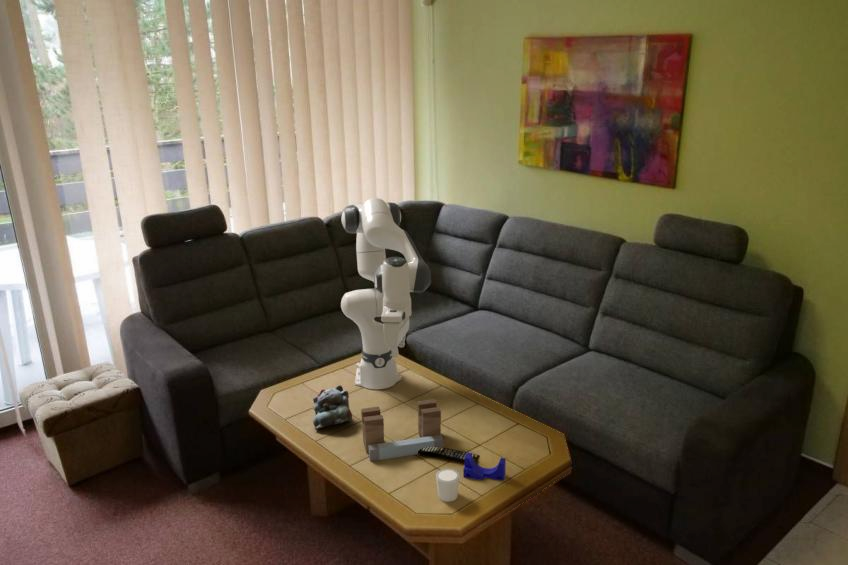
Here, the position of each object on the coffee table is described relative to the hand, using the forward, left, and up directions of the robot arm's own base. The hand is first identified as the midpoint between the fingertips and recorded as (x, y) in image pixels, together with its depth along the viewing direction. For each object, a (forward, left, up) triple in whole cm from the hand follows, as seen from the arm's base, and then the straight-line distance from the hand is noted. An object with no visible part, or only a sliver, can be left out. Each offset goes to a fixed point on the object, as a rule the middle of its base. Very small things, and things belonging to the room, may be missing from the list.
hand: (398, 351), depth 207 cm
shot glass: (+32, +7, -33) cm, 46 cm away
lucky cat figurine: (-19, -21, -33) cm, 44 cm away
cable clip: (+25, +20, -33) cm, 47 cm away
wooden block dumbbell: (0, 0, -33) cm, 33 cm away
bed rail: (+7, 0, -33) cm, 34 cm away
